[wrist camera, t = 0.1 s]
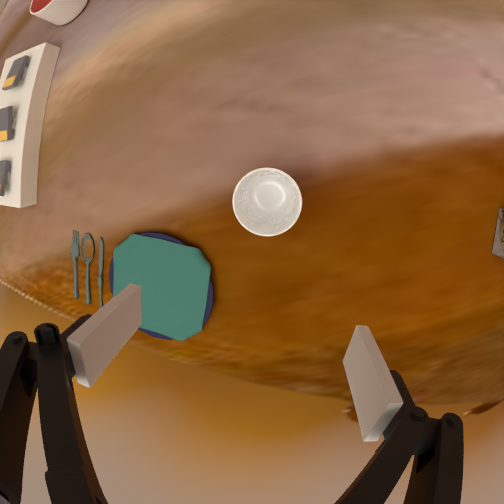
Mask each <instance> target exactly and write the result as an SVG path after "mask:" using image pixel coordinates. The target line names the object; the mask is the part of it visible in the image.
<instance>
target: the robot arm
mask: <svg viewBox="0 0 504 504" xmlns="http://www.w3.org/2000/svg"><path fill="white" fill-rule="evenodd" d="M141 324H142V316H141V286H140V285H136V284H132V283H130V284H129V285H127V286H126V287H125V288H124V289H123V290H122V291H120V292H119V293H118V294H117V295H116V296H114V297H113V298H112V299H111V300H110V301H109V302H107V303H106V304H105V305H104V306H103V307H102V308H100V309H99V310H98V311H97V312H96V313H95V314H93V315H90V314H87V315H85V316H82V317H80V318H79V319H78V320H77V321H75V323H73V324H72V325H71V327H68V328H67V330H65V331H64V332H63V333H62V334H60V333H59V329H58V327H57V326H56V325H55V324H52V323H44V324H41V325H39V326H37V327H36V328H35V330H34V334H35V337H36V341H37V343H34V342H29V341H28V338H27V336H26V334H25V333H24V332H20V331H16V332H12V333H10V334H9V335H8V336H7V337H6V339H5V341H4V343H3V345H2V347H1V349H0V504H20V502H21V494H22V478H23V466H24V457H25V449H26V441H27V435H28V430H29V424H30V419H31V414H32V409H33V404H34V400H35V396H36V392H37V388H38V398H39V412H40V423H41V431H42V438H43V444H44V451H45V457H46V462H47V467H48V471H47V472H45V480H46V484H47V488H48V492H49V496H50V499H51V503H52V504H108V502H107V500H106V499H105V497H104V494H103V492H102V489H101V487H100V485H99V482H98V479H97V476H96V473H95V470H94V468H93V464H92V461H91V458H90V455H89V452H88V448H87V445H86V441H85V438H84V434H83V430H82V426H81V422H80V418H79V413H78V408H77V404H76V399H75V393H74V388H73V382H72V377H73V376H74V375H76V378H77V381H78V383H80V384H82V385H85V386H86V387H89V388H90V387H91V386H92V385H93V384H94V382H95V381H96V380H97V378H98V377H99V376H100V375H101V373H102V372H103V371H104V370H105V368H106V367H107V366H108V365H109V363H110V362H111V361H112V360H113V358H114V357H115V356H116V354H117V353H118V352H119V351H120V350H121V348H122V347H123V346H124V345H125V343H126V342H127V341H128V340H129V339H130V337H131V336H132V335H133V334H134V333H135V331H136V330H137V329H138V328H139V326H140V325H141ZM343 364H344V367H345V371H346V374H347V378H348V382H349V386H350V389H351V393H352V397H353V401H354V405H355V409H356V413H357V417H358V421H359V425H360V429H361V433H362V437H363V441H377V440H378V439H379V438H380V436H381V435H382V434H383V435H384V439H385V440H384V441H383V442H382V444H381V445H380V446H379V447H378V449H377V450H376V451H375V454H374V455H373V457H372V458H371V460H370V461H369V462H368V464H367V465H366V466H365V467H364V469H363V470H362V471H361V473H360V474H359V475H358V477H357V478H356V479H355V480H354V482H353V483H352V484H351V485H350V487H349V488H348V489H347V490H346V491H345V492H344V493H343V495H342V496H341V497H340V498H339V499H338V500H337V501H336V502H335V504H384V503H385V501H386V499H387V498H388V496H389V495H390V493H391V492H392V490H393V488H394V487H395V485H396V484H397V482H398V480H399V479H400V477H401V475H402V473H403V471H404V470H405V468H406V466H407V464H408V462H409V461H410V458H411V456H412V455H415V456H414V461H413V466H412V472H411V476H410V480H409V484H408V489H407V492H406V496H405V500H404V504H460V500H461V491H462V479H463V453H464V451H463V450H464V444H463V423H462V420H461V418H460V417H459V416H458V415H456V414H454V413H446V414H444V415H443V416H442V418H441V419H435V418H430V417H428V414H427V412H426V411H425V410H424V409H422V408H420V407H417V406H415V404H414V402H413V400H412V398H411V396H410V393H409V391H408V389H407V387H406V385H405V384H404V381H403V379H402V377H401V376H400V375H399V374H398V373H397V372H396V371H395V370H389V369H388V367H387V365H386V363H385V361H384V358H383V356H382V354H381V352H380V350H379V348H378V346H377V344H376V342H375V340H374V338H373V336H372V334H371V332H370V330H369V328H368V326H361V325H356V328H355V331H354V333H353V336H352V339H351V341H350V344H349V346H348V349H347V352H346V354H345V357H344V359H343Z"/></svg>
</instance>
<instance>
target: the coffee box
mask: <svg viewBox="0 0 504 504" xmlns="http://www.w3.org/2000/svg"><path fill="white" fill-rule="evenodd" d="M492 253H493V254H495V255H497V256H499V257H501V258H503V259H504V209H502V208H499V212H498V220H497V226H496V232H495V238H494V243H493V248H492Z"/></svg>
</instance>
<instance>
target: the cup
mask: <svg viewBox="0 0 504 504" xmlns="http://www.w3.org/2000/svg"><path fill="white" fill-rule="evenodd" d="M87 1H88V0H33V1H32V3H31V6H30V13H31V14H33V15H35V16H38V17H40V18H42V19H45V20H47V21H49V22H51V23H53V24H55V25H64V24H67V23H69V22H70V21H72V20H73V19H74V18H76V17H77V16H78V15H79V14H80V13H81V11H82V10H83V9H84V7H85V6H86V4H87Z"/></svg>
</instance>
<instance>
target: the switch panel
mask: <svg viewBox="0 0 504 504" xmlns="http://www.w3.org/2000/svg"><path fill="white" fill-rule="evenodd" d="M60 49H61V48H59V47H57V46H54V45H52V44H49V43H47V42H46V43H43V44H40V45H38V46H35V47H33V48H31V49H28V50H26V51H24V52H21V53H19V54H17V55H15V56H13V57H11V58H8V59H6V61H5V64H4V68H3V71H2V75H1V79H0V109H1V108H5V107H8V106H13V115H12V137H13V139H12V140H9V141H2V142H0V161H3V160H7V161H10V166H9V171H8V176H7V181H6V187H5V194H4V196H0V205H5V206H11V207H17V208H23V207H27V206H31V205H35V204H37V176H38V162H39V151H40V142H41V134H42V127H43V120H44V115H45V109H46V104H47V99H48V94H49V89H50V85H51V81H52V77H53V73H54V69H55V66H56V62H57V59H58V55H59V52H60ZM25 55H28V56H29V57H30V58H29V60H28V62H27V64H26V67H25V69H24V71H23V73H22V76H21V78H20V80H19V83H18V85H17V87H15V88H12V89H9V90H6V91H4V90H2V87H3V85H4V82H5V80H6V78H7V75H8V73H9V71H10V68H11V66H12V64H13V62H14V60H16V59H18V58H21V57H23V56H25Z"/></svg>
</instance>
